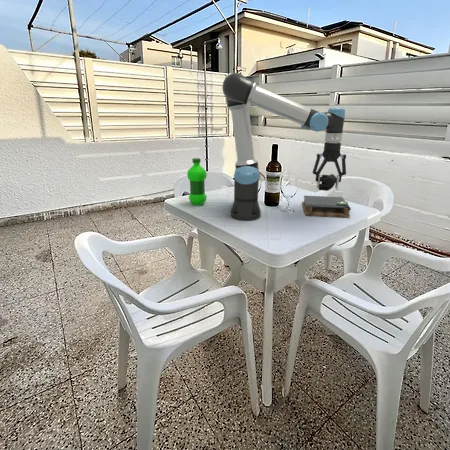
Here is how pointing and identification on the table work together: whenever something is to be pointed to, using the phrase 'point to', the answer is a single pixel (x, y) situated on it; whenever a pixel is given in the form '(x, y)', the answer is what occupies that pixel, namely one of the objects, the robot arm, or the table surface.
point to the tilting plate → (326, 201)
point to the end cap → (327, 182)
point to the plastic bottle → (197, 183)
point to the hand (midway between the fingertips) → (327, 188)
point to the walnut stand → (326, 211)
